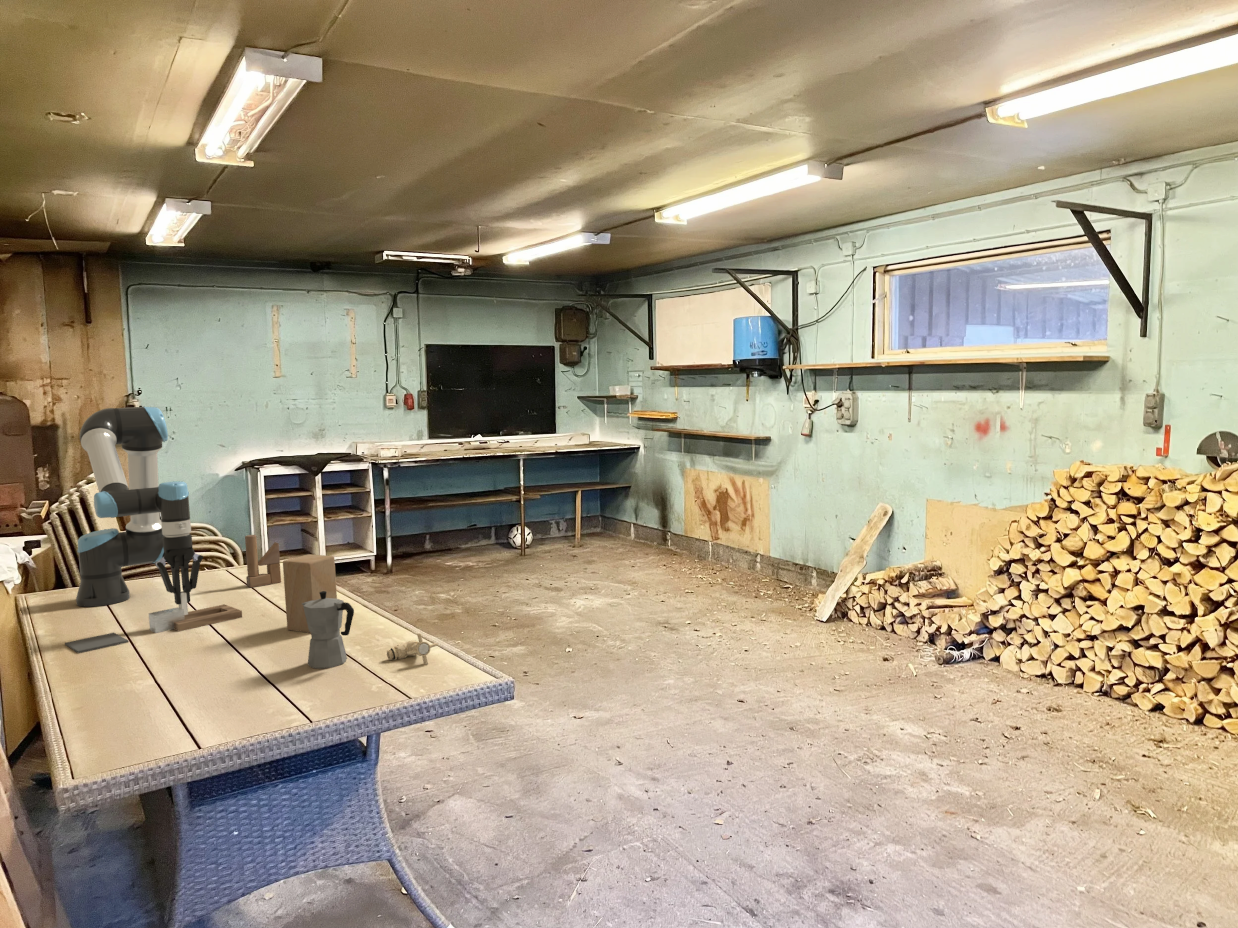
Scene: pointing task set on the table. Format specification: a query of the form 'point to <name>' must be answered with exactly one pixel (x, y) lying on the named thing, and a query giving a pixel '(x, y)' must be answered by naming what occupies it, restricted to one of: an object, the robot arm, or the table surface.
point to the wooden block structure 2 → (269, 559)
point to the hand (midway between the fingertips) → (183, 614)
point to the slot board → (207, 617)
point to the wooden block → (306, 585)
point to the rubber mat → (96, 642)
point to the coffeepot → (327, 631)
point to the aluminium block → (165, 619)
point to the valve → (411, 649)
